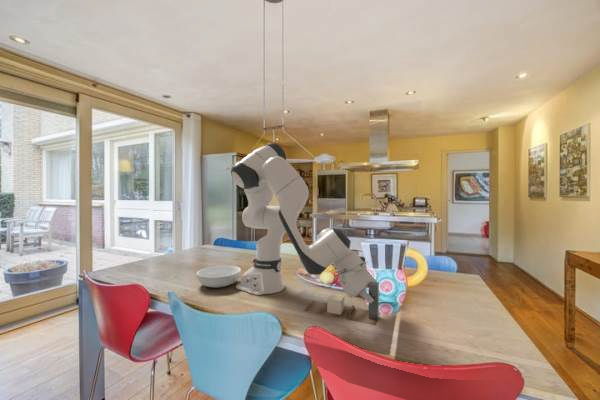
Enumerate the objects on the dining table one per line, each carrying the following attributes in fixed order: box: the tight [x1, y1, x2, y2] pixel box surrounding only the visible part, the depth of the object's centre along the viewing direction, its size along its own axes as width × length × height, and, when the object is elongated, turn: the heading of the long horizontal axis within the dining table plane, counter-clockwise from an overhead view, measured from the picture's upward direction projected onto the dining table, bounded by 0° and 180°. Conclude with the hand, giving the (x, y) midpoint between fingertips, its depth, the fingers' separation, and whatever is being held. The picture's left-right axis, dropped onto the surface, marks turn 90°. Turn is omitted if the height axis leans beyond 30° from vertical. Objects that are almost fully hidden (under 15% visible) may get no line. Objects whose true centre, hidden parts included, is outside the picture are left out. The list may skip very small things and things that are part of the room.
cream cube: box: [326, 293, 345, 315], centre depth 96 cm, size 5×5×5 cm
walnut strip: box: [302, 281, 381, 326], centre depth 95 cm, size 26×10×13 cm, turn 66°
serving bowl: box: [196, 265, 242, 289], centre depth 128 cm, size 21×21×7 cm
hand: (375, 299), depth 90 cm, fingers closed on walnut strip, 4 cm apart
